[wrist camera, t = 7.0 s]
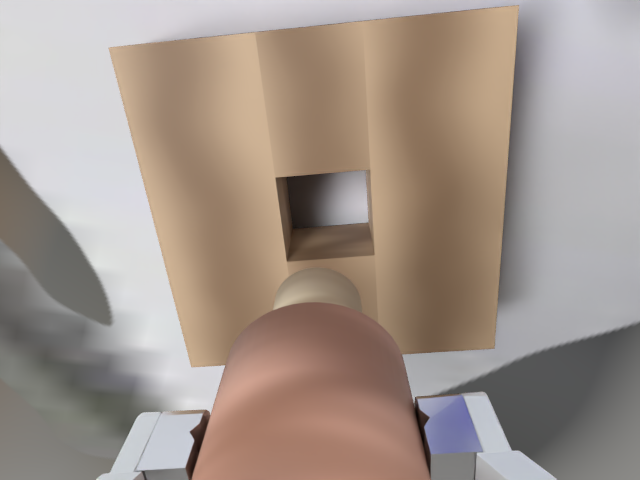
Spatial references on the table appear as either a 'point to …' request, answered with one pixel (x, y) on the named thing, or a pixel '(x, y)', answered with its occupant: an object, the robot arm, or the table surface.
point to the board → (330, 169)
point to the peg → (313, 394)
